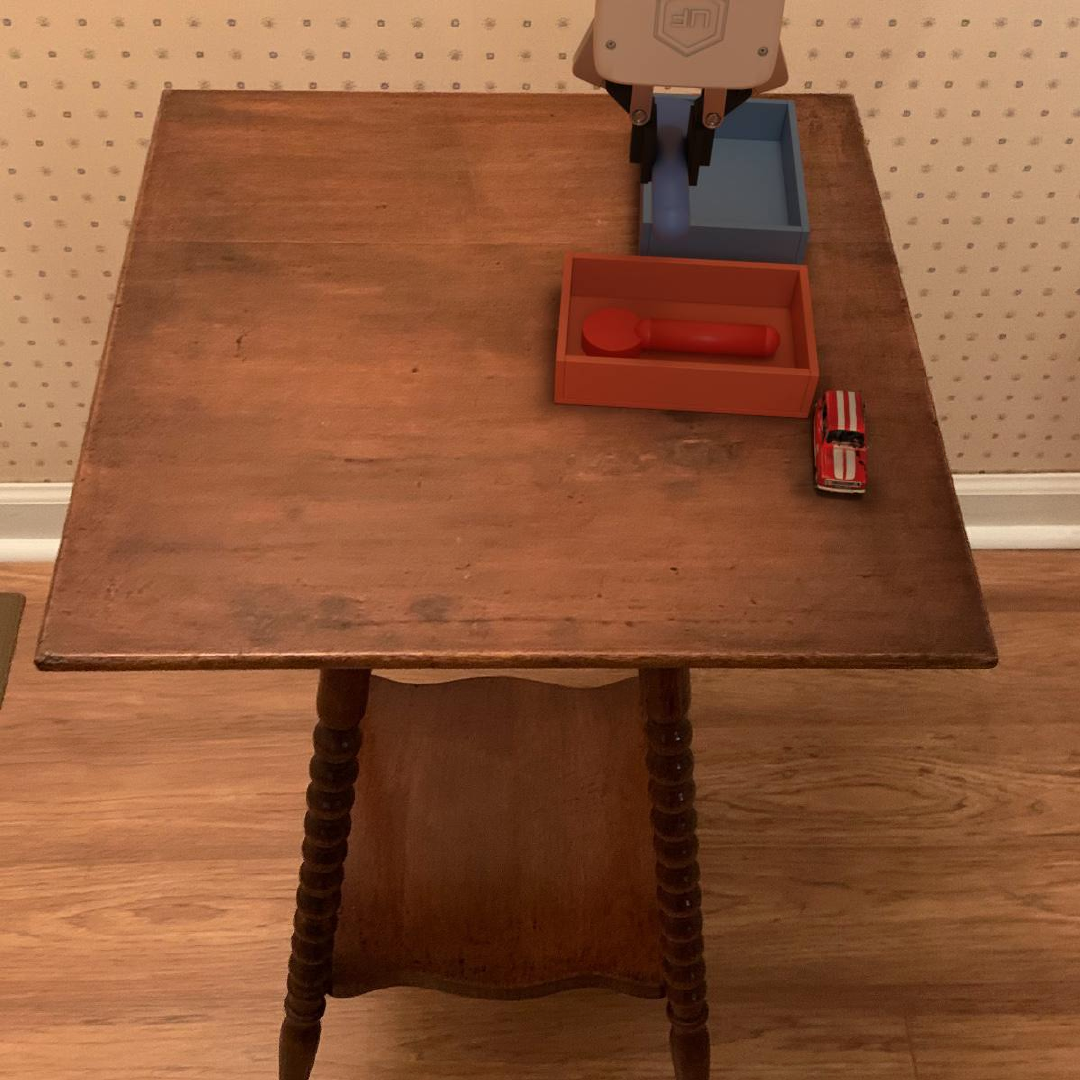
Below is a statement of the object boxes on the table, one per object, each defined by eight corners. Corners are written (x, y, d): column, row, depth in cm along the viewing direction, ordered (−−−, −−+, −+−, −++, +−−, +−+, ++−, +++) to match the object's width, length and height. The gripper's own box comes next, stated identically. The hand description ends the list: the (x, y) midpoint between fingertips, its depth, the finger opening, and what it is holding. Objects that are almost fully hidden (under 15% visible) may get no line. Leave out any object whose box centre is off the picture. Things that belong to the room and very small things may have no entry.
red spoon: (775, 332, 85) (780, 308, 83) (778, 375, 82) (784, 351, 81) (582, 321, 85) (584, 297, 84) (579, 363, 83) (581, 339, 81)
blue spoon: (707, 251, 69) (712, 220, 67) (631, 248, 69) (635, 217, 67) (699, 116, 78) (703, 86, 76) (632, 114, 78) (634, 83, 76)
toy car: (812, 496, 76) (822, 463, 74) (809, 407, 81) (819, 373, 79) (868, 502, 76) (880, 469, 73) (862, 412, 81) (873, 378, 78)
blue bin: (785, 142, 100) (794, 99, 97) (799, 275, 90) (810, 231, 87) (641, 135, 101) (645, 92, 97) (638, 266, 90) (642, 222, 87)
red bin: (796, 308, 87) (807, 264, 84) (807, 418, 80) (819, 375, 77) (563, 294, 88) (564, 251, 85) (554, 403, 81) (555, 360, 78)
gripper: (541, -118, 57) (536, 203, 72) (875, -105, 57) (801, 215, 71) (548, -183, 62) (542, 131, 76) (857, -171, 61) (791, 142, 76)
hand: (668, 169), depth 74 cm, fingers closed on blue spoon, 2 cm apart
